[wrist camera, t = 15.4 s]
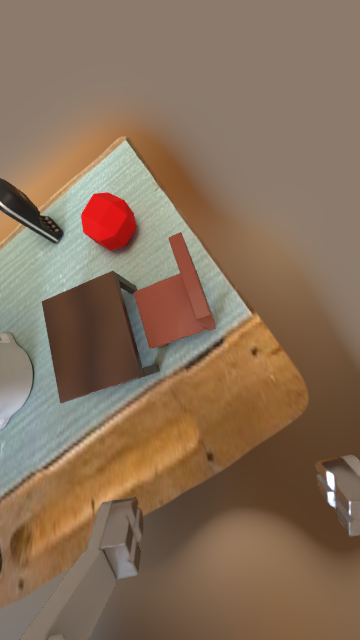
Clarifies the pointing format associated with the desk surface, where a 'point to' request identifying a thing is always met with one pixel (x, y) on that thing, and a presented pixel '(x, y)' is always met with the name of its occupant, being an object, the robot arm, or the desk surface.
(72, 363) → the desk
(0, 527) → the desk surface
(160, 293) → the chair
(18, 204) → the battery charger
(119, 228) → the ball
